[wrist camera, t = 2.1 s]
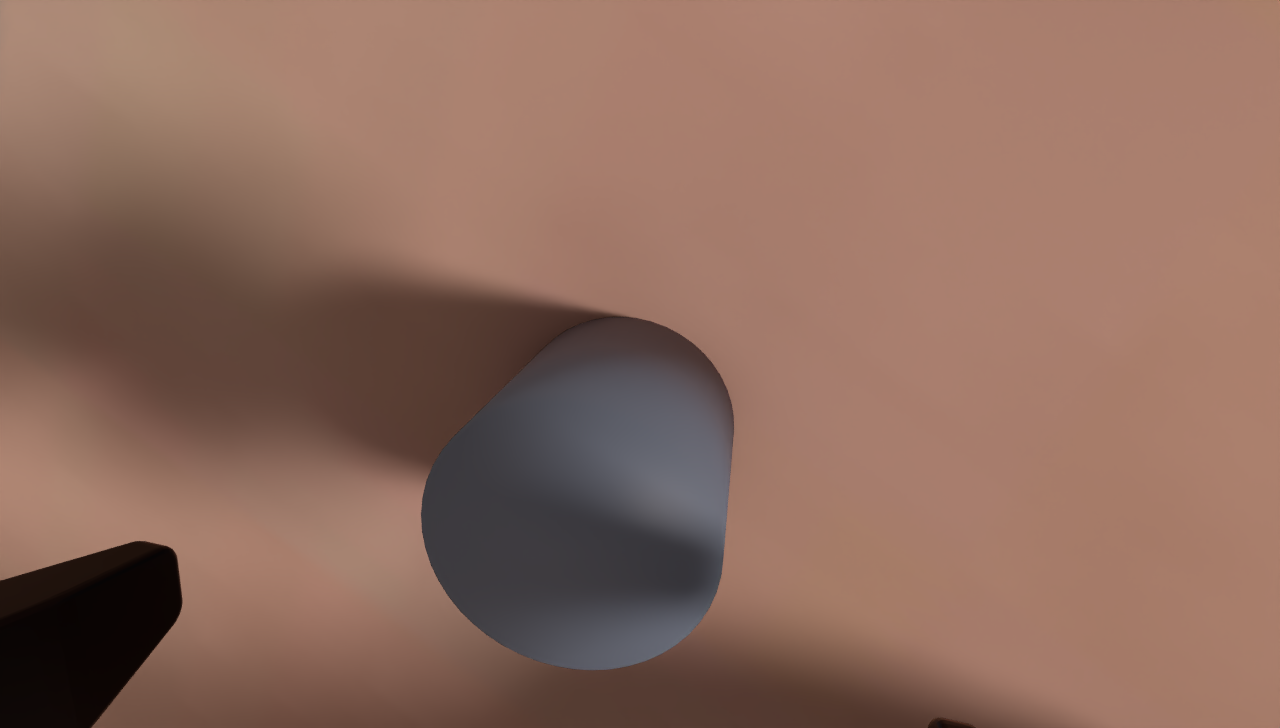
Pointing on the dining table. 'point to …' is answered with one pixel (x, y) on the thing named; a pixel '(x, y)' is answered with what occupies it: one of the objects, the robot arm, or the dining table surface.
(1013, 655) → the dining table surface
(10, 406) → the dining table surface
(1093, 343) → the dining table surface
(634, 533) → the grey rounded cylinder
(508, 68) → the dining table surface
